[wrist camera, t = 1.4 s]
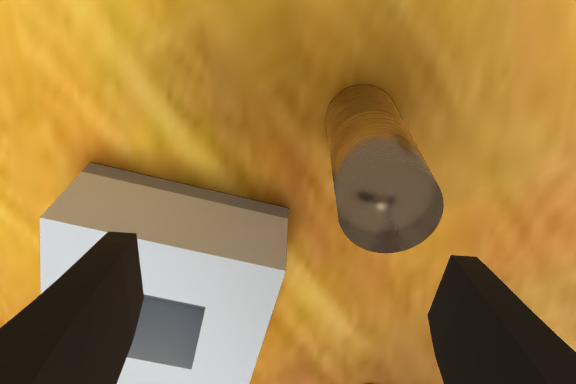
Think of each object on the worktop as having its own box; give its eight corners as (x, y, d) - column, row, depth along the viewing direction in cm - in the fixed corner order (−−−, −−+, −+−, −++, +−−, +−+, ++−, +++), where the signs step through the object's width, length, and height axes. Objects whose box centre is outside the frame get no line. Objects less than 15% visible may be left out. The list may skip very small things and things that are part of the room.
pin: (406, 94, 20) (461, 178, 14) (381, 157, 22) (419, 262, 15) (337, 76, 20) (357, 152, 13) (317, 141, 22) (325, 241, 15)
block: (288, 208, 24) (285, 270, 19) (248, 342, 28) (238, 416, 24) (90, 162, 23) (39, 217, 18) (83, 309, 27) (42, 380, 23)
